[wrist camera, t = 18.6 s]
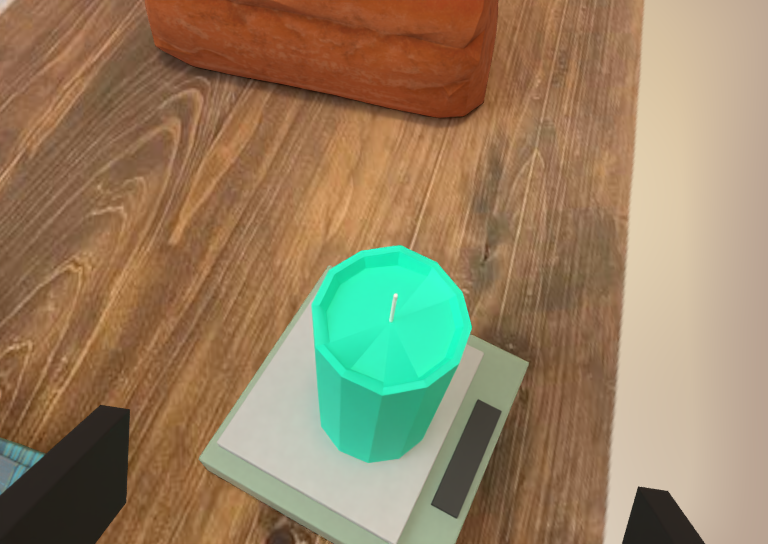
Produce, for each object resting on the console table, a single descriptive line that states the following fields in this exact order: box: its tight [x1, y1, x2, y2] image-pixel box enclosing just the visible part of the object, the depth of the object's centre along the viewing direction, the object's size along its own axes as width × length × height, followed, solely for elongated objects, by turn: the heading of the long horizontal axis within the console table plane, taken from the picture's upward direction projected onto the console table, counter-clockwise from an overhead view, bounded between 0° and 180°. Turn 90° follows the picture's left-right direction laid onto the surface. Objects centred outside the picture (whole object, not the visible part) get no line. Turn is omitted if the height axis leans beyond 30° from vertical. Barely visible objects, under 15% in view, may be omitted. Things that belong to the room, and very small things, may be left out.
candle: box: [311, 245, 472, 463], centre depth 26 cm, size 6×6×12 cm
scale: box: [199, 266, 529, 544], centre depth 32 cm, size 13×13×3 cm
